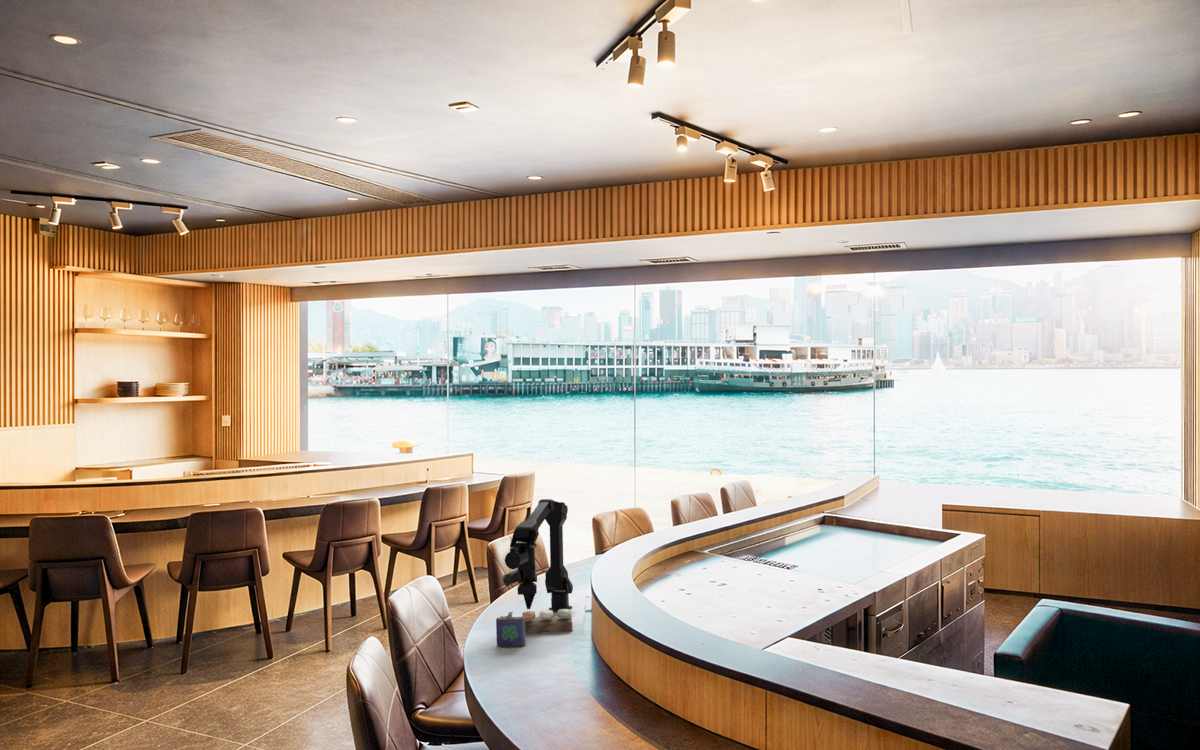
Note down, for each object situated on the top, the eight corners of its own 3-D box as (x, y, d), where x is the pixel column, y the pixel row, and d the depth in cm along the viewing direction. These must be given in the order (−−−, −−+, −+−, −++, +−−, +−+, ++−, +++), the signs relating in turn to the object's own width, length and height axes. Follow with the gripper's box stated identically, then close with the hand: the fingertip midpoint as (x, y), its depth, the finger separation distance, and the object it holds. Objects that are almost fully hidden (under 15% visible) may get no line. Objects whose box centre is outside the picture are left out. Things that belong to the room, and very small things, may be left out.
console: (521, 634, 240) (521, 625, 240) (522, 627, 248) (522, 618, 248) (572, 631, 241) (572, 622, 241) (571, 623, 249) (571, 615, 249)
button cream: (540, 618, 242) (539, 614, 242) (540, 615, 246) (540, 610, 246) (553, 618, 242) (552, 613, 242) (553, 614, 247) (552, 609, 247)
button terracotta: (522, 620, 242) (521, 615, 242) (522, 616, 246) (522, 611, 246) (535, 619, 242) (535, 614, 242) (535, 615, 246) (535, 610, 246)
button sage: (557, 617, 243) (557, 612, 243) (557, 614, 247) (557, 609, 247) (570, 616, 243) (570, 612, 243) (570, 613, 247) (570, 608, 247)
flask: (526, 644, 229) (524, 610, 230) (524, 647, 226) (523, 613, 227) (497, 645, 230) (496, 611, 230) (495, 648, 227) (494, 614, 227)
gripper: (504, 558, 253) (506, 602, 253) (501, 570, 235) (503, 618, 234) (536, 556, 254) (537, 600, 254) (535, 568, 236) (537, 616, 235)
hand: (528, 608), depth 244 cm, fingers closed
